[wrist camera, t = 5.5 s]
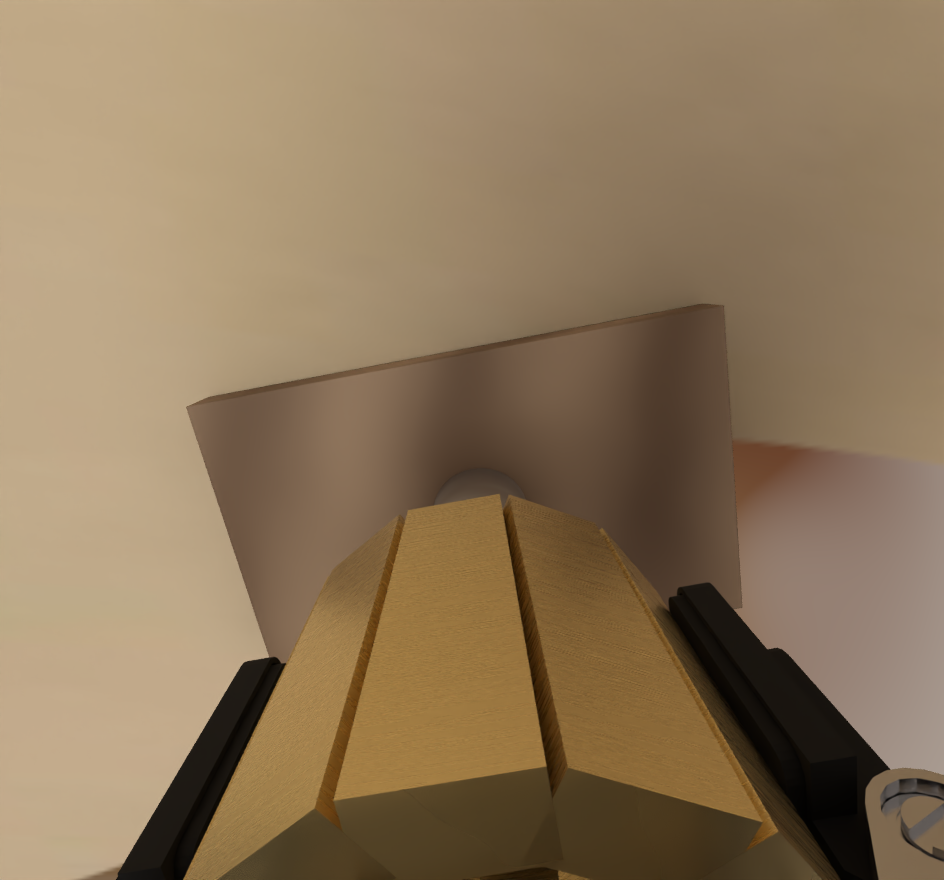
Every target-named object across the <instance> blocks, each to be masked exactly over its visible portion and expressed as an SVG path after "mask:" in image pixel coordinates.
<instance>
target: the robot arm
mask: <svg viewBox="0 0 944 880" xmlns="http://www.w3.org/2000/svg"><path fill="white" fill-rule="evenodd" d="M668 603H669V612H670V613H671V615H672V616H673V618H674V620H675V621H676V623H677V624H678V626H679V627H680V629H681V631H682V632H683V634H684V635H685V637H686V638H687V640H688V642H689V643H690V645H691V646H692V648H693V649H694V651H695V653H696V654H697V656H698V657H699V659H700V660H701V662H702V664H703V665H704V667H705V668H706V670H707V671H708V673H709V675H710V676H711V678H712V679H713V681H714V682H715V684H716V686H717V687H718V689H719V690H720V692H721V693H722V695H723V697H724V698H725V700H726V701H727V703H728V704H729V706H730V707H731V709H732V711H733V712H734V714H735V715H736V717H737V718H738V720H739V722H740V723H741V725H742V726H743V728H744V729H745V731H746V733H747V734H748V736H749V737H750V739H751V740H752V742H753V744H754V745H755V747H756V748H757V750H758V751H759V753H760V755H761V756H762V758H763V759H764V761H765V762H766V764H767V766H768V767H769V769H770V770H771V772H772V773H773V775H774V777H775V778H776V780H777V781H778V783H779V784H780V786H781V788H782V789H783V791H784V792H785V794H786V795H787V797H788V798H789V799H790V801H791V802H792V804H793V806H794V807H795V809H796V810H797V812H798V813H799V815H800V817H801V818H802V820H803V821H804V823H805V824H806V826H807V828H808V829H809V831H810V832H811V834H812V835H813V837H814V839H815V840H816V842H817V843H818V845H819V846H820V848H821V850H822V851H823V853H824V854H825V856H826V857H827V859H828V860H829V862H830V864H831V865H832V867H833V868H834V870H835V871H836V873H837V875H838V876H839V878H840V879H841V880H944V775H941V774H938V773H934V772H931V771H927V770H922V769H911V768H899V769H892V770H890V768H888V766H887V765H886V764H885V763H884V762H883V761H882V759H880V757H879V756H878V755H877V754H876V753H875V752H874V751H873V749H871V747H870V746H869V745H868V744H867V743H866V742H865V740H864V739H863V738H862V737H861V736H860V735H859V734H858V732H857V731H856V730H855V729H854V728H853V727H852V726H851V725H850V724H849V723H848V721H847V720H846V719H845V718H844V717H843V716H842V715H841V713H840V712H839V711H838V710H837V709H836V708H835V707H834V705H833V704H832V703H831V702H830V701H829V700H828V699H827V698H826V696H825V695H824V694H823V693H822V692H821V691H820V690H819V689H818V688H817V686H816V685H815V684H814V683H813V682H812V681H811V680H810V679H809V677H808V676H807V675H806V674H805V673H804V672H803V671H802V670H801V668H800V667H799V666H798V665H797V664H796V663H795V662H794V660H793V659H792V658H791V657H790V656H789V655H788V654H787V653H786V652H784V651H783V650H782V649H779V648H773V649H766V648H765V646H764V645H763V644H762V643H761V642H760V640H759V639H758V638H757V637H756V636H755V634H754V633H753V632H752V631H751V630H750V629H749V627H748V626H747V625H746V624H745V623H744V622H743V620H742V619H741V618H740V617H739V616H738V614H737V613H736V612H735V611H734V610H733V608H732V607H731V606H730V605H729V604H728V602H727V601H726V600H725V599H724V598H723V597H722V595H721V594H720V593H719V592H718V591H717V589H716V588H715V587H714V586H713V585H712V584H711V583H709V582H706V583H700V584H694V585H689V586H683V587H679V588H678V589H677V596H672V597H669V600H668ZM285 665H286V663H282V664H281V662H280V660H279V659H278V658H277V657H270V658H264V659H258V660H252V661H247V662H244V663H243V664H242V666H241V667H240V669H239V670H238V672H237V674H236V676H235V677H234V679H233V681H232V682H231V684H230V686H229V687H228V689H227V691H226V692H225V694H224V696H223V697H222V699H221V701H220V702H219V704H218V706H217V707H216V709H215V711H214V713H213V714H212V716H211V718H210V719H209V721H208V723H207V724H206V726H205V728H204V729H203V731H202V733H201V734H200V736H199V738H198V739H197V741H196V743H195V744H194V746H193V748H192V750H191V751H190V753H189V755H188V756H187V758H186V760H185V761H184V763H183V765H182V766H181V768H180V770H179V771H178V773H177V775H176V776H175V778H174V780H173V781H172V783H171V785H170V787H169V788H168V790H167V792H166V793H165V795H164V797H163V798H162V800H161V802H160V803H159V805H158V807H157V808H156V810H155V812H154V813H153V815H152V817H151V818H150V820H149V822H148V824H147V825H146V827H145V829H144V830H143V832H142V834H141V835H140V837H139V839H138V840H137V842H136V844H135V845H134V847H133V849H132V850H131V852H130V854H129V855H128V857H127V859H126V861H125V862H124V864H123V866H122V867H121V869H120V871H119V872H118V877H117V879H116V880H183V879H184V877H185V875H186V873H187V871H188V869H189V866H190V864H191V862H192V860H193V858H194V856H195V854H196V852H197V850H198V848H199V846H200V843H201V841H202V839H203V837H204V835H205V833H206V831H207V829H208V827H209V825H210V822H211V820H212V818H213V816H214V814H215V812H216V810H217V808H218V806H219V804H220V801H221V799H222V797H223V795H224V793H225V791H226V789H227V787H228V785H229V783H230V781H231V778H232V776H233V774H234V772H235V770H236V768H237V766H238V764H239V762H240V760H241V757H242V755H243V753H244V751H245V749H246V747H247V745H248V743H249V741H250V739H251V737H252V734H253V732H254V730H255V728H256V726H257V724H258V722H259V720H260V718H261V716H262V713H263V711H264V709H265V707H266V705H267V703H268V701H269V699H270V697H271V695H272V692H273V690H274V688H275V686H276V684H277V682H278V680H279V678H280V676H281V674H282V672H283V669H284V667H285Z"/></svg>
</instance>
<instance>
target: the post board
mask: <svg viewBox="0 0 944 880" xmlns="http://www.w3.org/2000/svg"><path fill="white" fill-rule="evenodd" d="M186 408H187V411H188V414H189V417H190V420H191V423H192V426H193V429H194V432H195V435H196V438H197V441H198V444H199V447H200V450H201V453H202V456H203V459H204V462H205V465H206V468H207V471H208V474H209V477H210V480H211V483H212V486H213V489H214V492H215V495H216V498H217V501H218V504H219V507H220V510H221V513H222V516H223V519H224V522H225V525H226V528H227V531H228V534H229V537H230V540H231V543H232V546H233V549H234V552H235V555H236V558H237V561H238V564H239V567H240V570H241V573H242V576H243V579H244V582H245V585H246V588H247V591H248V594H249V597H250V600H251V603H252V606H253V609H254V612H255V615H256V618H257V621H258V624H259V627H260V630H261V633H262V636H263V639H264V642H265V645H266V648H267V651H268V654H269V658H270V657H277V658H278V659H279V660H280V662H281V664H282V663H287V661H288V659H289V657H290V655H291V653H292V651H293V648H294V646H295V644H296V642H297V640H298V638H299V636H300V634H301V632H302V630H303V628H304V625H305V623H306V621H307V619H308V617H309V615H310V613H311V611H312V609H313V607H314V604H315V602H316V600H317V598H318V596H319V594H320V592H321V590H322V588H323V586H324V583H325V581H326V579H327V577H328V576H330V574H331V572H332V570H333V568H335V567H336V566H337V565H338V564H340V563H341V562H342V561H343V560H344V559H346V558H347V557H348V556H349V555H350V554H352V553H353V552H354V551H355V550H357V549H358V548H359V547H360V546H361V545H363V544H364V543H365V542H366V541H367V540H369V539H370V538H371V537H372V536H374V535H375V534H376V533H377V532H378V531H380V530H381V529H382V528H383V527H384V526H386V525H387V524H388V523H389V522H391V521H392V520H393V519H394V518H395V517H397V516H398V515H399V514H400V515H401V516H402V517H403V518H404V519H405V520H406V516H407V512H408V510H412V509H417V508H423V507H428V506H434V505H440V504H445V503H451V502H456V501H462V500H468V499H473V498H479V497H484V496H490V495H495V494H500V499H501V504H502V510H503V508H504V506H505V503H506V500H507V498H508V495H512V496H515V497H518V498H521V499H524V500H527V501H530V502H533V503H537V504H540V505H543V506H546V507H549V508H552V509H555V510H558V511H561V512H564V513H567V514H570V515H573V516H576V517H579V518H582V519H585V520H588V521H591V522H594V523H595V524H596V525H597V527H598V529H599V530H600V529H601V528H603V529H604V530H605V531H606V532H607V534H608V535H609V536H610V537H611V538H612V539H613V541H614V542H615V543H616V544H617V545H618V546H619V548H620V549H621V550H622V551H623V552H624V553H625V555H626V556H627V557H628V558H629V559H630V560H631V562H632V563H633V564H634V565H635V566H636V567H637V568H638V570H639V571H640V572H641V573H642V574H643V575H644V577H645V578H646V579H647V580H648V581H649V582H650V584H651V585H652V586H653V587H654V588H655V589H656V591H657V592H658V594H659V596H660V597H661V599H662V600H663V602H664V603H665V605H666V607H667V608H668V610H669V603H668V600H669V597H672V596H677V589H678V588H679V587H683V586H689V585H694V584H700V583H706V582H709V583H711V584H712V585H713V586H714V587H715V588H716V589H717V591H718V592H719V593H720V594H721V595H722V597H723V598H724V599H725V600H726V601H727V602H728V604H729V605H730V606H731V607H732V608H733V609H737V608H742V595H741V578H740V562H739V545H738V529H737V513H736V496H735V480H734V464H733V447H732V431H731V415H730V399H729V382H728V366H727V350H726V333H725V317H724V306H721V305H709V304H699V305H694V306H689V307H683V308H678V309H673V310H667V311H662V312H657V313H652V314H646V315H641V316H636V317H630V318H625V319H620V320H614V321H609V322H604V323H599V324H593V325H588V326H583V327H577V328H572V329H567V330H561V331H556V332H551V333H546V334H540V335H535V336H530V337H524V338H519V339H514V340H509V341H503V342H498V343H493V344H487V345H482V346H477V347H471V348H466V349H461V350H456V351H450V352H445V353H440V354H434V355H429V356H424V357H419V358H413V359H408V360H403V361H397V362H392V363H387V364H381V365H376V366H371V367H366V368H360V369H355V370H350V371H344V372H339V373H334V374H328V375H323V376H318V377H313V378H307V379H302V380H297V381H291V382H286V383H281V384H276V385H270V386H265V387H260V388H254V389H249V390H244V391H238V392H233V393H228V394H223V395H217V396H212V397H208V398H205V399H203V400H201V401H199V402H196V403H194V404H192V405H190V406H187V407H186Z"/></svg>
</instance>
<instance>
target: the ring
mask: <svg viewBox="0 0 944 880" xmlns="http://www.w3.org/2000/svg"><path fill="white" fill-rule="evenodd" d="M183 880H841V879H840V878H839V876H838V875H837V873H836V871H835V870H834V868H833V867H832V865H831V864H830V862H829V860H828V859H827V857H826V856H825V854H824V853H823V851H822V850H821V848H820V846H819V845H818V843H817V842H816V840H815V839H814V837H813V835H812V834H811V832H810V831H809V829H808V828H807V826H806V824H805V823H804V821H803V820H802V818H801V817H800V815H799V813H798V812H797V810H796V809H795V807H794V806H793V804H792V802H791V801H790V799H789V798H788V797H787V795H786V794H785V792H784V791H783V789H782V788H781V786H780V784H779V783H778V781H777V780H776V778H775V777H774V775H773V773H772V772H771V770H770V769H769V767H768V766H767V764H766V762H765V761H764V759H763V758H762V756H761V755H760V753H759V751H758V750H757V748H756V747H755V745H754V744H753V742H752V740H751V739H750V737H749V736H748V734H747V733H746V731H745V729H744V728H743V726H742V725H741V723H740V722H739V720H738V718H737V717H736V715H735V714H734V712H733V711H732V709H731V707H730V706H729V704H728V703H727V701H726V700H725V698H724V697H723V695H722V693H721V692H720V690H719V689H718V687H717V686H716V684H715V682H714V681H713V679H712V678H711V676H710V675H709V673H708V671H707V670H706V668H705V667H704V665H703V664H702V662H701V660H700V659H699V657H698V656H697V654H696V653H695V651H694V649H693V648H692V646H691V645H690V643H689V642H688V640H687V638H686V637H685V635H684V634H683V632H682V631H681V629H680V627H679V626H678V624H677V623H676V621H675V620H674V618H673V616H672V615H671V613H670V612H669V610H668V608H667V607H666V605H665V603H664V602H663V600H662V599H661V597H660V596H659V594H658V592H657V591H656V589H655V588H654V587H653V586H652V585H651V584H650V582H649V581H648V580H647V579H646V578H645V577H644V575H643V574H642V573H641V572H640V571H639V570H638V568H637V567H636V566H635V565H634V564H633V563H632V562H631V560H630V559H629V558H628V557H627V556H626V555H625V553H624V552H623V551H622V550H621V549H620V548H619V546H618V545H617V544H616V543H615V542H614V541H613V539H612V538H611V537H610V536H609V535H608V534H607V532H606V531H605V530H604V529H603V528H601V529H600V530H599V529H598V527H597V525H596V524H595V523H594V522H591V521H588V520H585V519H582V518H579V517H576V516H573V515H570V514H567V513H564V512H561V511H558V510H555V509H552V508H549V507H546V506H543V505H540V504H537V503H533V502H530V501H527V500H524V499H521V498H518V497H515V496H512V495H508V498H507V500H506V503H505V506H504V508H503V510H502V504H501V499H500V494H495V495H490V496H484V497H479V498H473V499H468V500H462V501H456V502H451V503H445V504H440V505H434V506H428V507H423V508H417V509H412V510H408V512H407V516H406V520H405V519H404V518H403V517H402V516H401V515H400V514H399V515H398V516H397V517H395V518H394V519H393V520H392V521H391V522H389V523H388V524H387V525H386V526H384V527H383V528H382V529H381V530H380V531H378V532H377V533H376V534H375V535H374V536H372V537H371V538H370V539H369V540H367V541H366V542H365V543H364V544H363V545H361V546H360V547H359V548H358V549H357V550H355V551H354V552H353V553H352V554H350V555H349V556H348V557H347V558H346V559H344V560H343V561H342V562H341V563H340V564H338V565H337V566H336V567H335V568H333V570H332V572H331V574H330V576H328V577H327V579H326V581H325V583H324V586H323V588H322V590H321V592H320V594H319V596H318V598H317V600H316V602H315V604H314V607H313V609H312V611H311V613H310V615H309V617H308V619H307V621H306V623H305V625H304V628H303V630H302V632H301V634H300V636H299V638H298V640H297V642H296V644H295V646H294V648H293V651H292V653H291V655H290V657H289V659H288V661H287V663H286V665H285V667H284V669H283V672H282V674H281V676H280V678H279V680H278V682H277V684H276V686H275V688H274V690H273V692H272V695H271V697H270V699H269V701H268V703H267V705H266V707H265V709H264V711H263V713H262V716H261V718H260V720H259V722H258V724H257V726H256V728H255V730H254V732H253V734H252V737H251V739H250V741H249V743H248V745H247V747H246V749H245V751H244V753H243V755H242V757H241V760H240V762H239V764H238V766H237V768H236V770H235V772H234V774H233V776H232V778H231V781H230V783H229V785H228V787H227V789H226V791H225V793H224V795H223V797H222V799H221V801H220V804H219V806H218V808H217V810H216V812H215V814H214V816H213V818H212V820H211V822H210V825H209V827H208V829H207V831H206V833H205V835H204V837H203V839H202V841H201V843H200V846H199V848H198V850H197V852H196V854H195V856H194V858H193V860H192V862H191V864H190V866H189V869H188V871H187V873H186V875H185V877H184V879H183Z"/></svg>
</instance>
